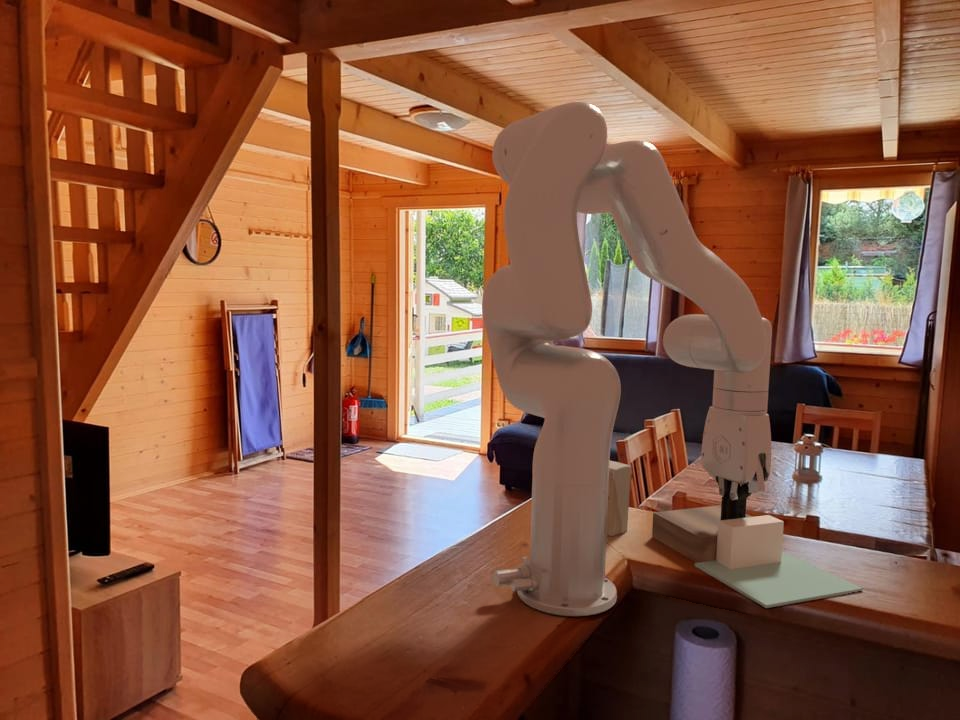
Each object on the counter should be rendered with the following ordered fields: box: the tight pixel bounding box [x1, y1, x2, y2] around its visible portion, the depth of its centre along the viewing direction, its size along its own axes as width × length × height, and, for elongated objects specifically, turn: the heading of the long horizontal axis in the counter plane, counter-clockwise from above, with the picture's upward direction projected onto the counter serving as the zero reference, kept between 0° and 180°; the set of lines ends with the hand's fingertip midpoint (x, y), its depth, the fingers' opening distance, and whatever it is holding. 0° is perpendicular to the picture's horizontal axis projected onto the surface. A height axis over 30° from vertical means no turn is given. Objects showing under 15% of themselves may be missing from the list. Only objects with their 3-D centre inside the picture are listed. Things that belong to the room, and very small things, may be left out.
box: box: [607, 460, 632, 537], centre depth 114 cm, size 5×4×11 cm
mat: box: [694, 550, 864, 609], centre depth 97 cm, size 16×14×1 cm
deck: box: [651, 504, 753, 563], centre depth 109 cm, size 14×12×4 cm
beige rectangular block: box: [716, 514, 785, 569], centre depth 101 cm, size 9×6×3 cm
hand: (732, 523), depth 104 cm, fingers closed
